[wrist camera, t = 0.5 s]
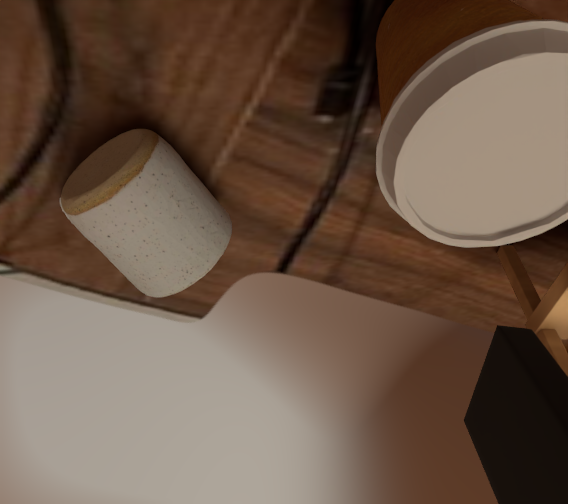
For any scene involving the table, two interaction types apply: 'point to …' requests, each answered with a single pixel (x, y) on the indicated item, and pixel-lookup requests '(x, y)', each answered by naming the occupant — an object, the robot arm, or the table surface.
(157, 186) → the ceramic mug
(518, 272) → the chair
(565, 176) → the disposable coffee cup
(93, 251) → the table surface
